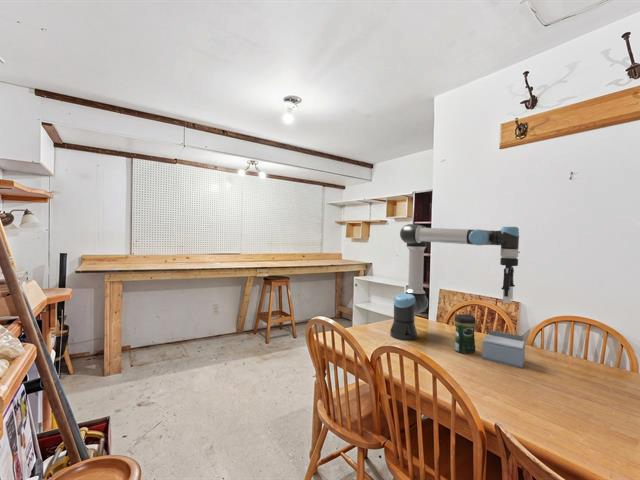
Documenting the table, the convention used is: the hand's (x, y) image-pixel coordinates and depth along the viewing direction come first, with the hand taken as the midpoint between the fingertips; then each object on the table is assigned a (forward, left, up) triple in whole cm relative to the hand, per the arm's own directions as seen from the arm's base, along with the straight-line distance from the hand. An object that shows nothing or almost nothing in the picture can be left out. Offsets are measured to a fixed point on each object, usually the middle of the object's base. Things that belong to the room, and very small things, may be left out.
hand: (507, 301), depth 153 cm
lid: (0, -10, -18) cm, 21 cm away
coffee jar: (-17, -11, -26) cm, 33 cm away
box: (0, -10, -26) cm, 28 cm away
